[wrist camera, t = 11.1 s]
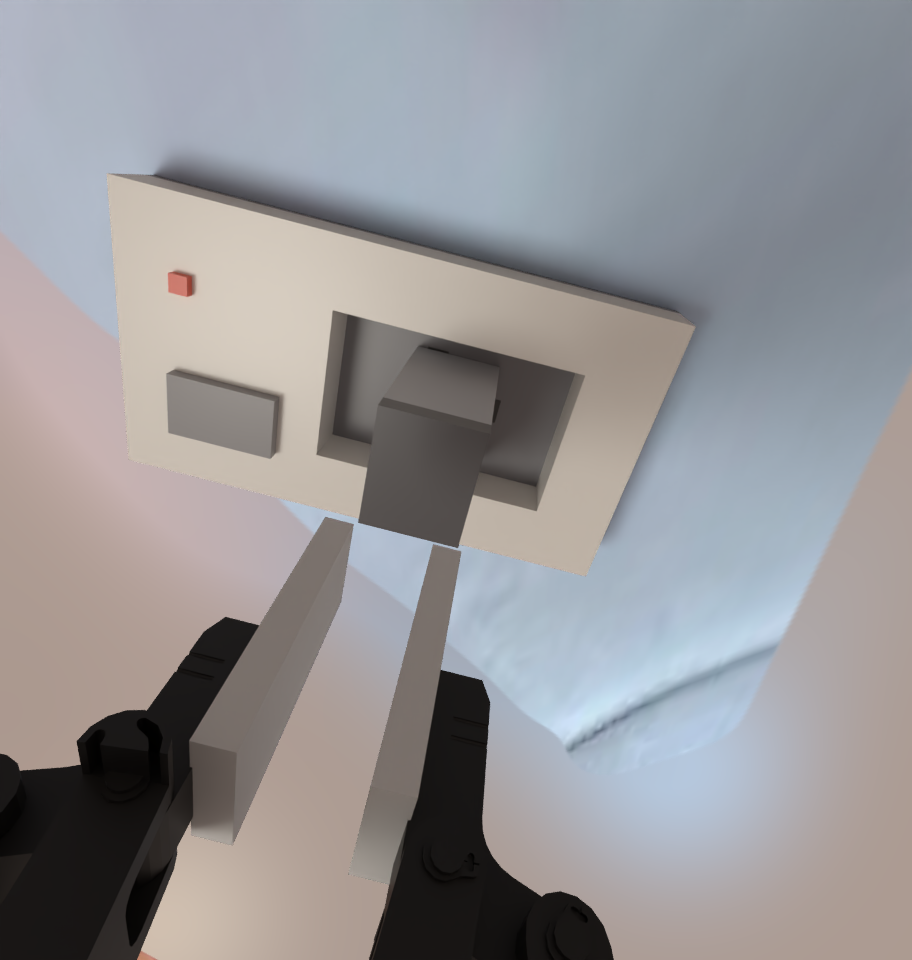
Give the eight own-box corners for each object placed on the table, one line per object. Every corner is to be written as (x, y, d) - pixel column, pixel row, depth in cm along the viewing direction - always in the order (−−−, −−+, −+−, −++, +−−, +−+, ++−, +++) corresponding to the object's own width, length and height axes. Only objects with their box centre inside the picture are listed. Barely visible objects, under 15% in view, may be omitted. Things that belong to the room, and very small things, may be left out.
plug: (417, 346, 26) (377, 405, 19) (499, 367, 26) (490, 433, 19) (399, 439, 28) (358, 522, 21) (474, 458, 28) (457, 547, 21)
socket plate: (152, 175, 24) (95, 172, 21) (677, 311, 24) (700, 330, 21) (162, 436, 30) (121, 464, 27) (580, 543, 31) (587, 583, 27)
